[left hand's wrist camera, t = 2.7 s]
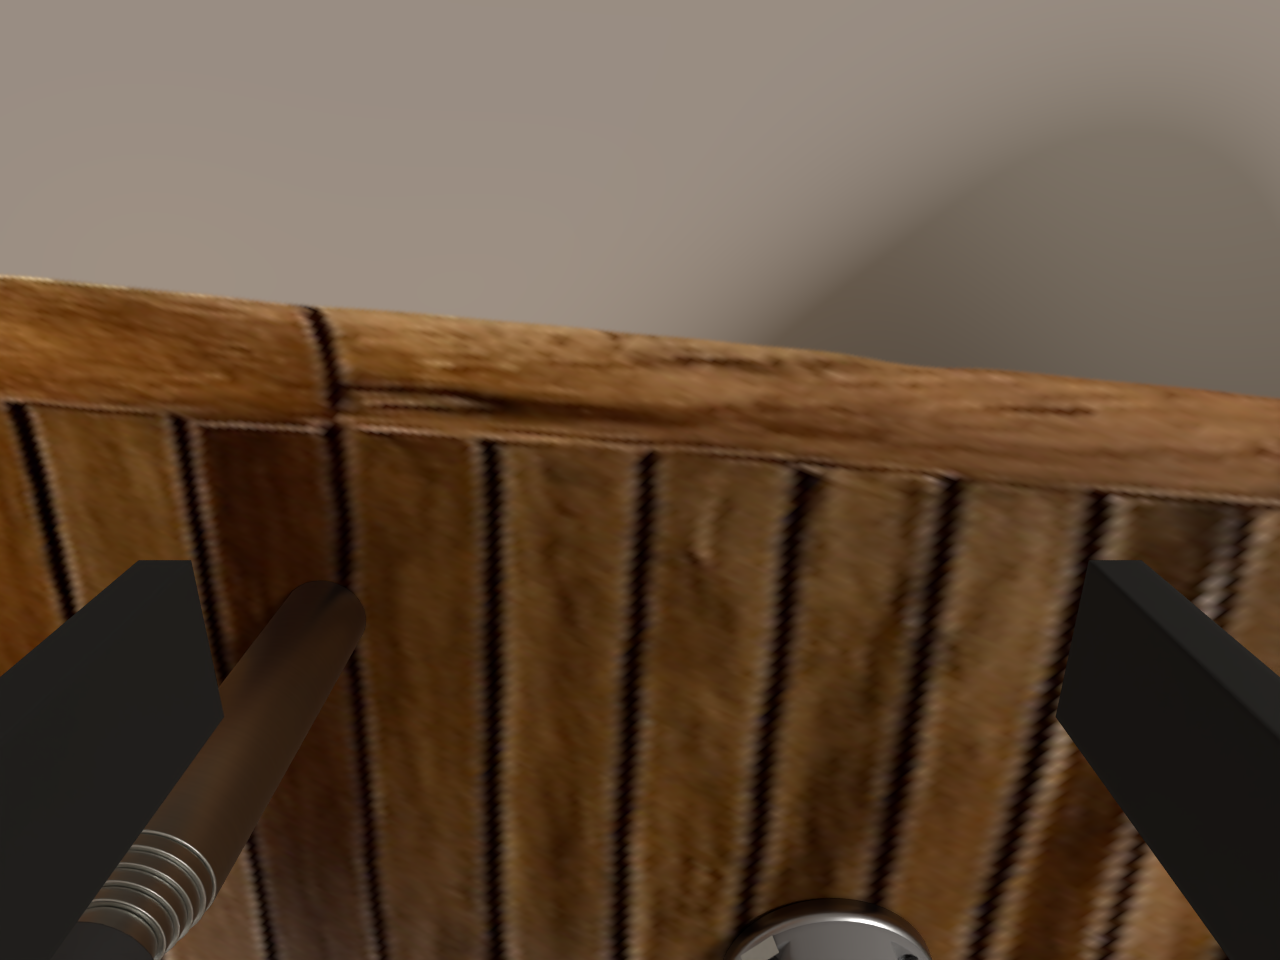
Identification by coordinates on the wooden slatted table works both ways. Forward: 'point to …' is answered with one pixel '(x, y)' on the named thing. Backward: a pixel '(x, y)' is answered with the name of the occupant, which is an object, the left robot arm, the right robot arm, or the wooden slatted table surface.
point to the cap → (100, 944)
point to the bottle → (232, 769)
